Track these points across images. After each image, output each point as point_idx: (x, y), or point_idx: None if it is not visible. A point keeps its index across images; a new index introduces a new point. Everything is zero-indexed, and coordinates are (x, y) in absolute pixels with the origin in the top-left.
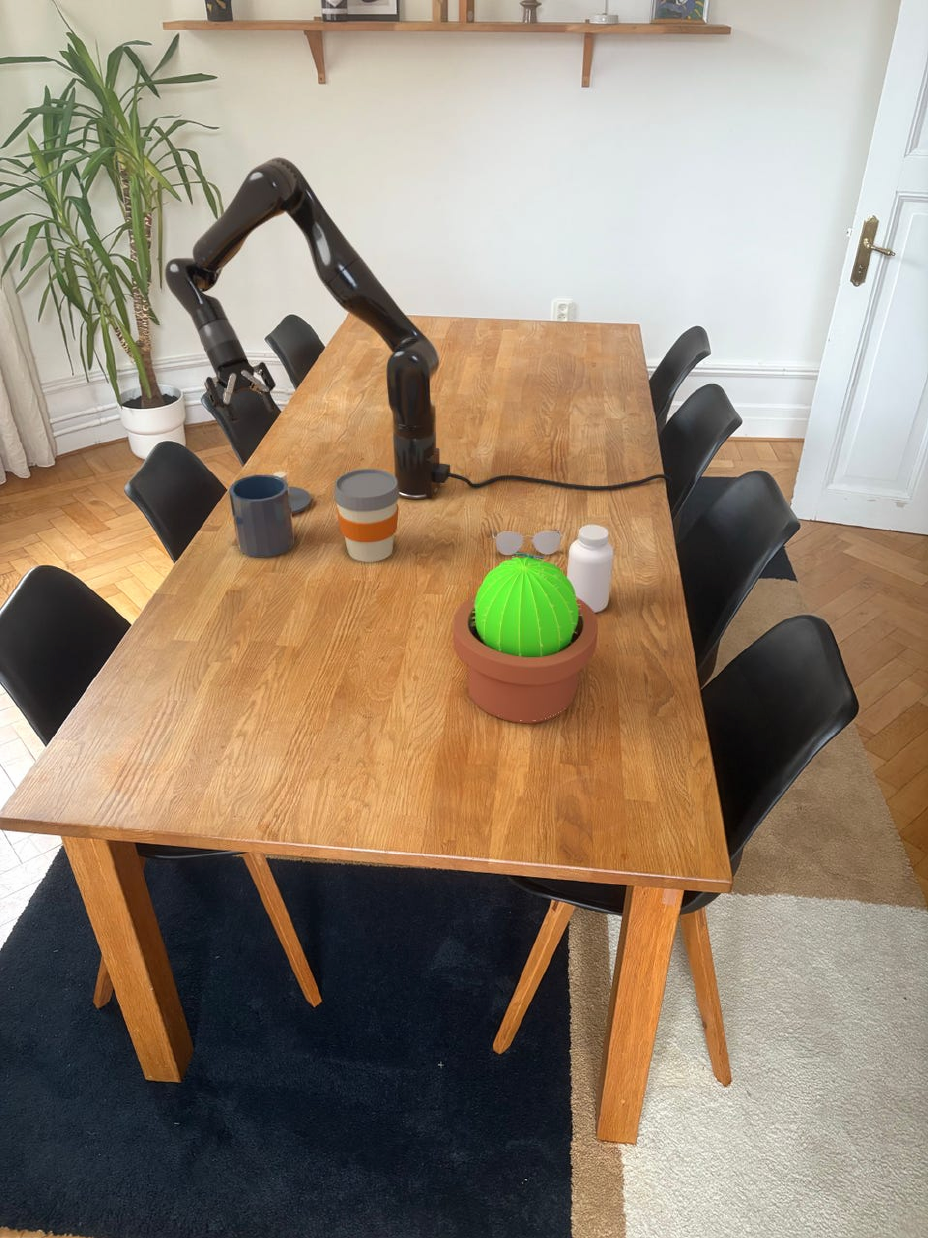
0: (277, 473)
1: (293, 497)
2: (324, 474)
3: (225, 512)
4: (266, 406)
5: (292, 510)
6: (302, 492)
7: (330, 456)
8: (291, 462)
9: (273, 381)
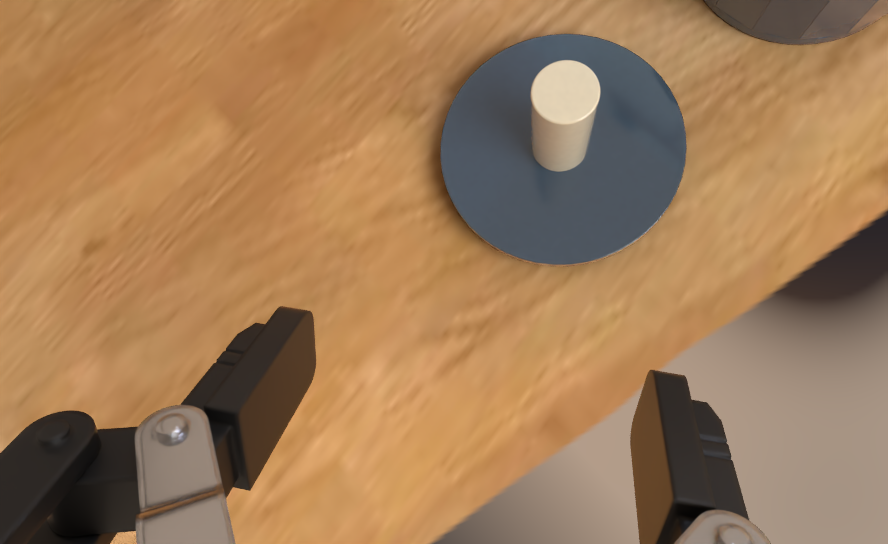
0: (568, 105)
1: (516, 128)
2: (275, 248)
3: (789, 262)
4: (294, 407)
5: (588, 43)
6: (461, 139)
7: (148, 362)
8: (290, 443)
9: (7, 458)
